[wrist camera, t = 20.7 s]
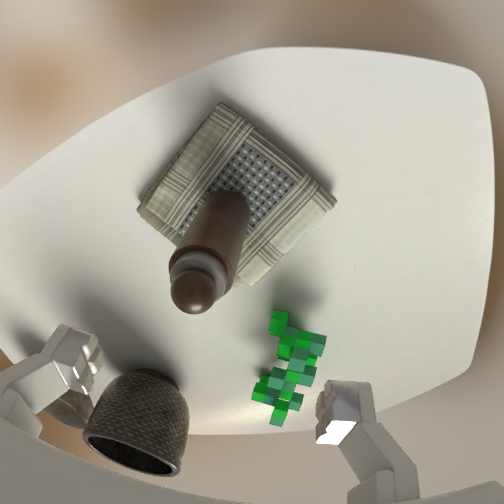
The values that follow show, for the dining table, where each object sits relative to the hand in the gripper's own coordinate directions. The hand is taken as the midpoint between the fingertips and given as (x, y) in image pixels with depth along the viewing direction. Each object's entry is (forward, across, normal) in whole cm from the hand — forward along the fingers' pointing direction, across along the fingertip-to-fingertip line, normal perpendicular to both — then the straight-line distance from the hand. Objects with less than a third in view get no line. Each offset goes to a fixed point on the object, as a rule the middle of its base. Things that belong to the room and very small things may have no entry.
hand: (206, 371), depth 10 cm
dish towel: (+29, +3, +7) cm, 30 cm away
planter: (+29, +16, +51) cm, 61 cm away
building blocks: (+29, -8, +31) cm, 43 cm away
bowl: (+29, +44, +65) cm, 83 cm away
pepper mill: (+26, +3, +7) cm, 27 cm away
